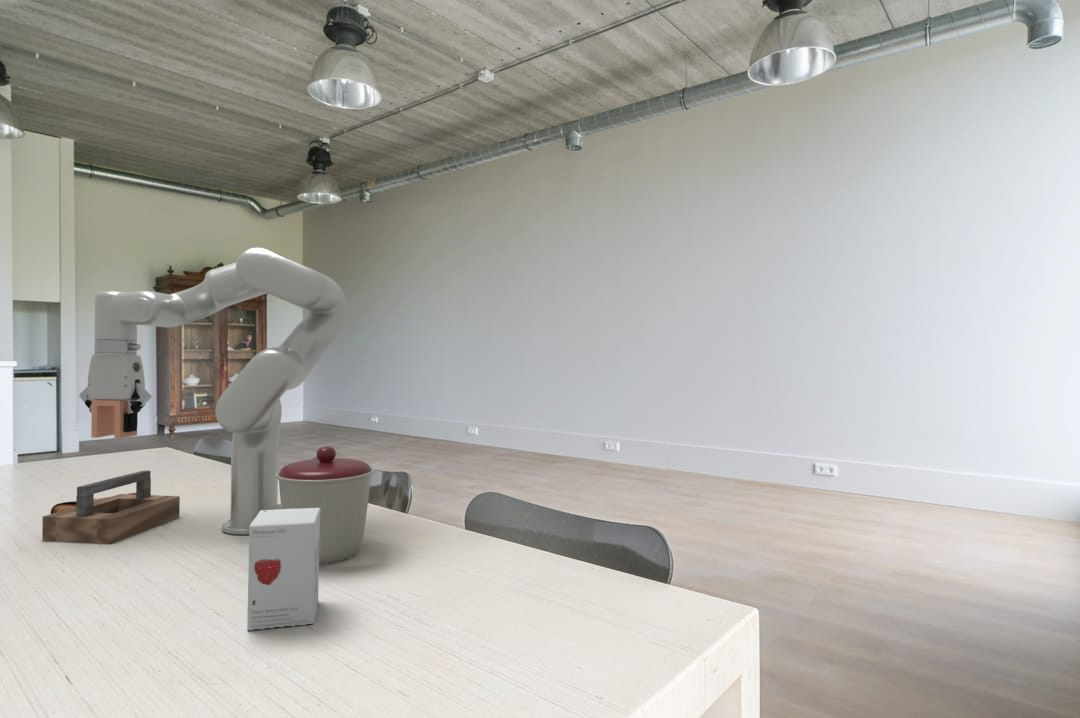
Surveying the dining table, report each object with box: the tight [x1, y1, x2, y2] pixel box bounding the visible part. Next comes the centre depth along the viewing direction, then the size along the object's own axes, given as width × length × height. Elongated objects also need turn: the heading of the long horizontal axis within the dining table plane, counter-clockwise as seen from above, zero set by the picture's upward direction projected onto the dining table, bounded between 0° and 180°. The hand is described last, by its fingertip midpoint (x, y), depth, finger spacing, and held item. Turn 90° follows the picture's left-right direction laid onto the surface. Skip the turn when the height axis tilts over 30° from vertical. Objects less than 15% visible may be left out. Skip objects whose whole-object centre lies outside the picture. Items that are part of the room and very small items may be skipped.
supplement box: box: [246, 508, 321, 631], centre depth 89 cm, size 9×9×15 cm
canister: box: [275, 446, 376, 565], centre depth 115 cm, size 18×18×21 cm
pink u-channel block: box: [90, 400, 138, 439], centre depth 130 cm, size 6×5×8 cm
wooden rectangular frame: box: [41, 470, 181, 545], centre depth 131 cm, size 15×20×11 cm
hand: (114, 430), depth 130 cm, fingers closed on pink u-channel block, 6 cm apart
